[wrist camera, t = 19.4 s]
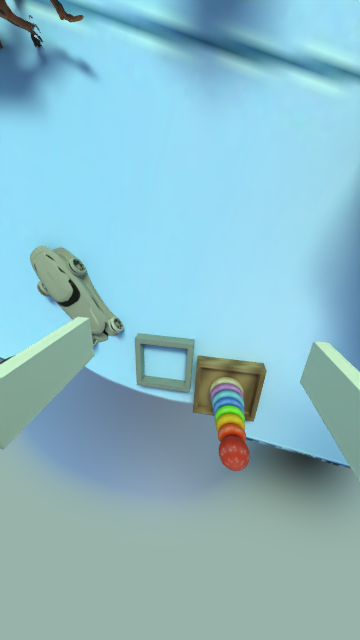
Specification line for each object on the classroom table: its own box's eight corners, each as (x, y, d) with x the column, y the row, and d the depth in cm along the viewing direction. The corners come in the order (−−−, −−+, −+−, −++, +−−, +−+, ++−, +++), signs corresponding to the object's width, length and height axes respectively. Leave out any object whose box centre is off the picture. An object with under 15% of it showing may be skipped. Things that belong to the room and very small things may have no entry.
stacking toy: (229, 406, 52) (237, 490, 35) (203, 390, 52) (198, 468, 35) (249, 386, 49) (269, 468, 32) (222, 369, 49) (226, 443, 31)
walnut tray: (263, 363, 48) (266, 371, 45) (251, 411, 54) (253, 421, 51) (198, 355, 49) (197, 362, 47) (193, 403, 55) (192, 412, 52)
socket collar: (194, 339, 48) (193, 344, 46) (190, 385, 53) (189, 392, 51) (138, 333, 49) (134, 338, 47) (140, 378, 55) (136, 385, 52)
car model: (95, 346, 53) (84, 356, 49) (30, 261, 47) (10, 264, 42) (129, 328, 50) (120, 338, 45) (63, 234, 43) (45, 234, 39)
